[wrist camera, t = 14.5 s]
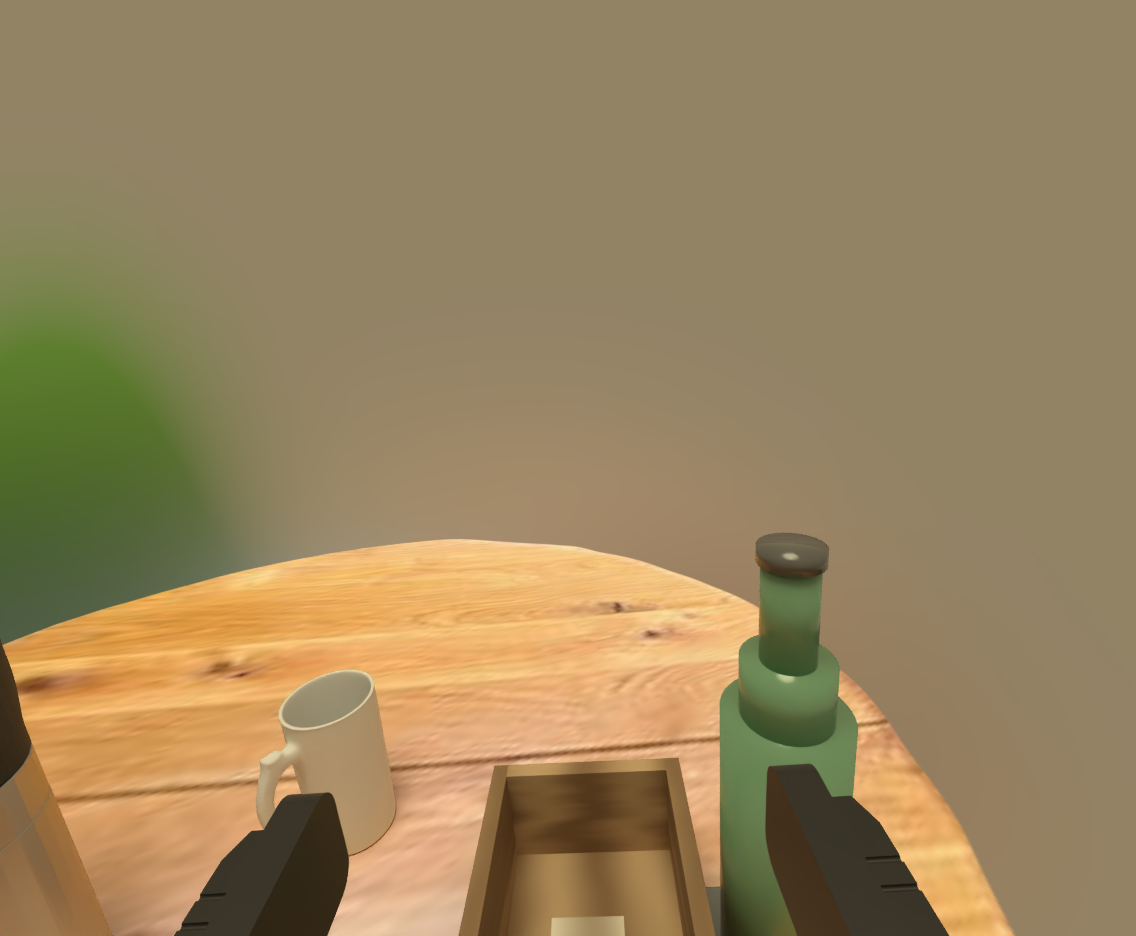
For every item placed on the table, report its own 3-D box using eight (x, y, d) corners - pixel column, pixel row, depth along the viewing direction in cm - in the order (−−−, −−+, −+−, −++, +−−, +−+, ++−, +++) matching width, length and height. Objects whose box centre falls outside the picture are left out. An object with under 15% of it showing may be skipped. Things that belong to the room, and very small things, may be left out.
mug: (361, 776, 48) (335, 661, 45) (416, 802, 45) (392, 680, 42) (254, 878, 40) (213, 745, 37) (312, 919, 37) (272, 777, 34)
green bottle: (701, 986, 30) (694, 554, 24) (747, 898, 35) (753, 512, 28) (814, 1081, 26) (846, 593, 20) (851, 968, 31) (887, 536, 24)
